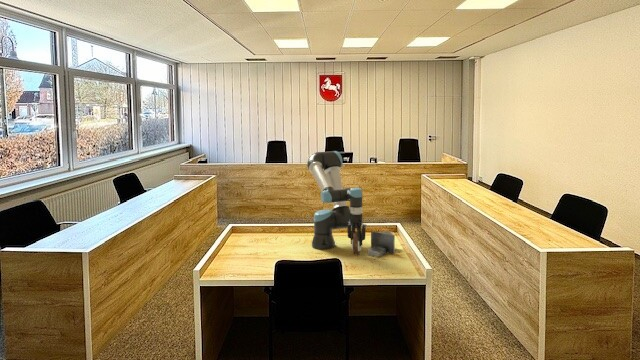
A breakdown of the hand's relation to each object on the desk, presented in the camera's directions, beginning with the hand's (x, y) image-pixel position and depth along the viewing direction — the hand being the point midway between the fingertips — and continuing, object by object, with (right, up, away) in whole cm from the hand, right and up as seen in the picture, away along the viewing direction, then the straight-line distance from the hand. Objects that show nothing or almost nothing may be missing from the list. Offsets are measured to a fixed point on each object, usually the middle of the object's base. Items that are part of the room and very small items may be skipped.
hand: (356, 249), depth 329 cm
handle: (0, -3, 0) cm, 3 cm away
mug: (+18, 0, +12) cm, 21 cm away
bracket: (+14, -2, 0) cm, 14 cm away
